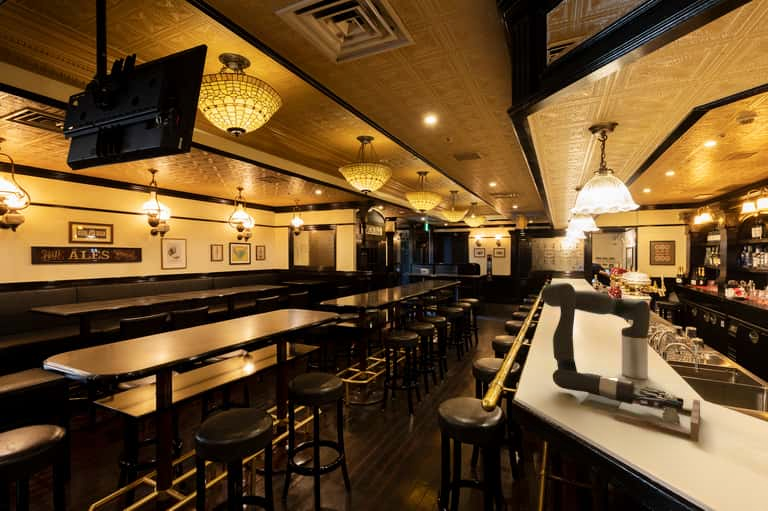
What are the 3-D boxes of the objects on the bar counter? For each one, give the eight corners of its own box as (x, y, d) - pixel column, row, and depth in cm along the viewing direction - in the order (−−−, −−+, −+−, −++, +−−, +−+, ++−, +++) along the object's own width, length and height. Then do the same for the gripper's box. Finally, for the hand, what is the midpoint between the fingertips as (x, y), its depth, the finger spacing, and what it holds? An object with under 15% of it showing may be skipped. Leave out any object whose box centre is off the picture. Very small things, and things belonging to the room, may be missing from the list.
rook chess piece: (676, 418, 109) (675, 393, 109) (683, 425, 105) (682, 399, 105) (659, 416, 111) (659, 391, 111) (665, 422, 107) (665, 397, 107)
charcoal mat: (589, 394, 129) (589, 392, 129) (621, 401, 122) (621, 400, 122) (580, 403, 120) (580, 402, 120) (614, 412, 113) (614, 411, 113)
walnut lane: (627, 398, 125) (627, 385, 125) (700, 416, 111) (700, 400, 111) (615, 418, 109) (615, 403, 109) (698, 441, 96) (698, 423, 96)
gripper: (612, 384, 113) (681, 399, 101) (620, 373, 123) (684, 386, 111) (612, 406, 113) (681, 424, 101) (620, 394, 123) (684, 409, 111)
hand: (682, 404), depth 106 cm, fingers closed on rook chess piece, 3 cm apart
